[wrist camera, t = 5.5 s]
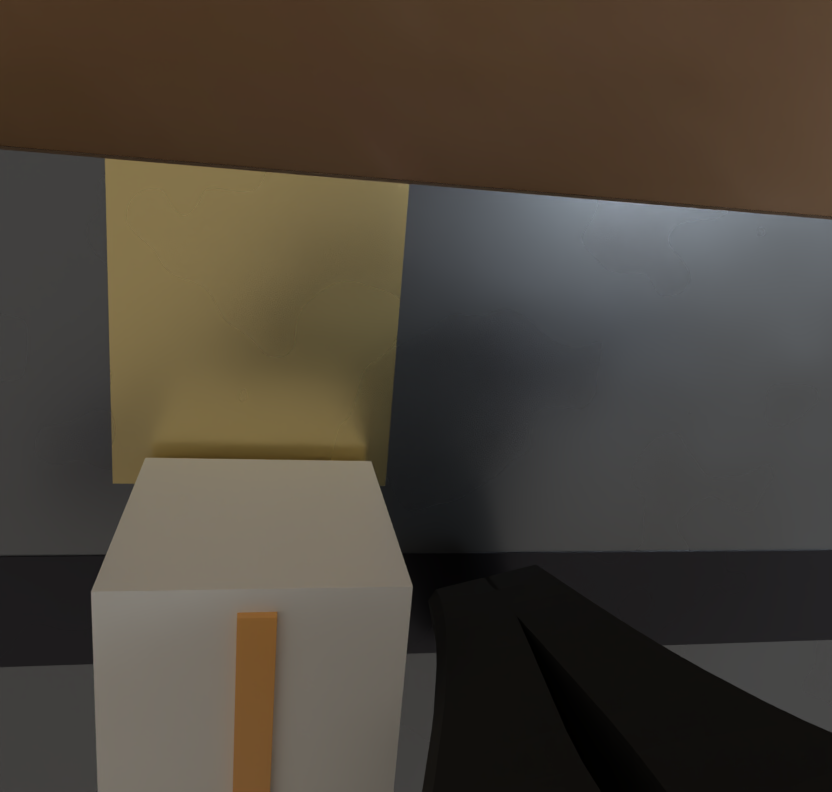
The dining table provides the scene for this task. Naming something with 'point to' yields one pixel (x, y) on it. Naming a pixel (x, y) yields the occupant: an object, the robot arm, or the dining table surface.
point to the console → (418, 405)
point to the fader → (250, 630)
